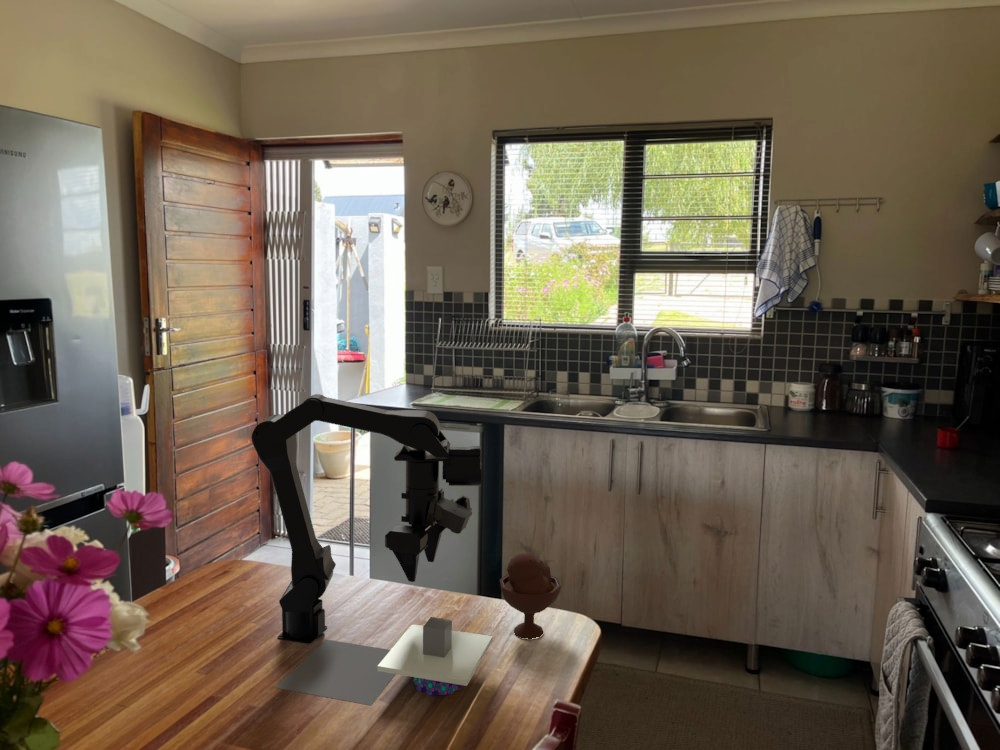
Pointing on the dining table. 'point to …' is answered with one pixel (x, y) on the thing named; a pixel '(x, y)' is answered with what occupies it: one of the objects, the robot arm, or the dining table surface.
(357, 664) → the mat
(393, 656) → the lid
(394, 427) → the robot arm
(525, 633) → the ice cream bowl
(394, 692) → the dining table surface
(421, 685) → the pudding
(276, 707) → the dining table surface
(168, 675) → the dining table surface
